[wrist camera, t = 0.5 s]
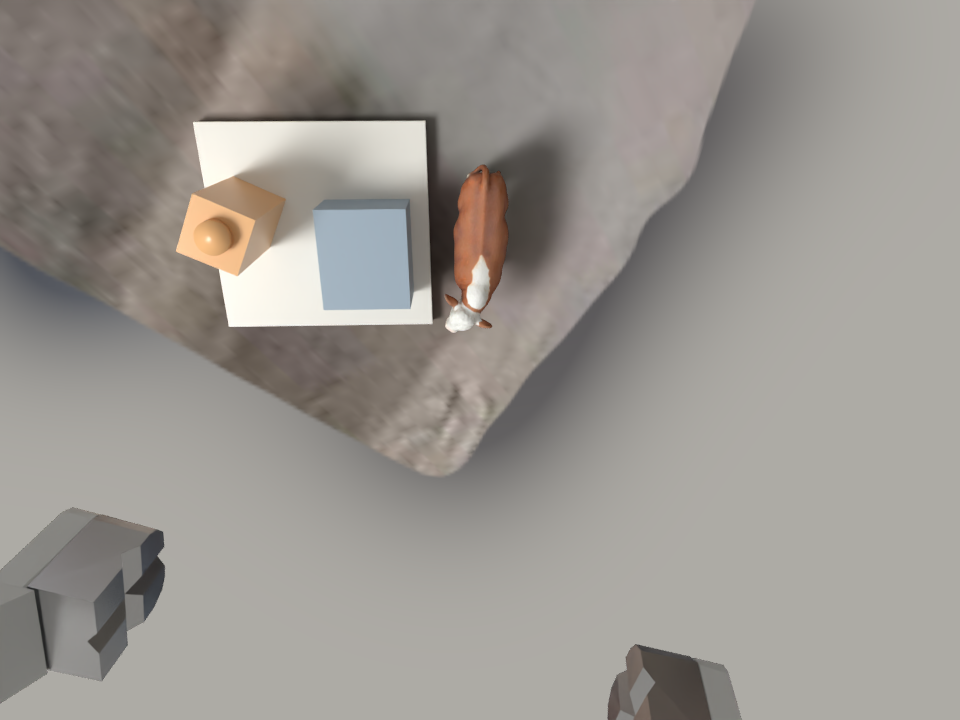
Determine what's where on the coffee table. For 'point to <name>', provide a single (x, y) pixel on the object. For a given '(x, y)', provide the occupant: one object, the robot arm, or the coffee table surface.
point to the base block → (364, 253)
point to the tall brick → (230, 224)
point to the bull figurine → (478, 246)
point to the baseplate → (305, 184)
